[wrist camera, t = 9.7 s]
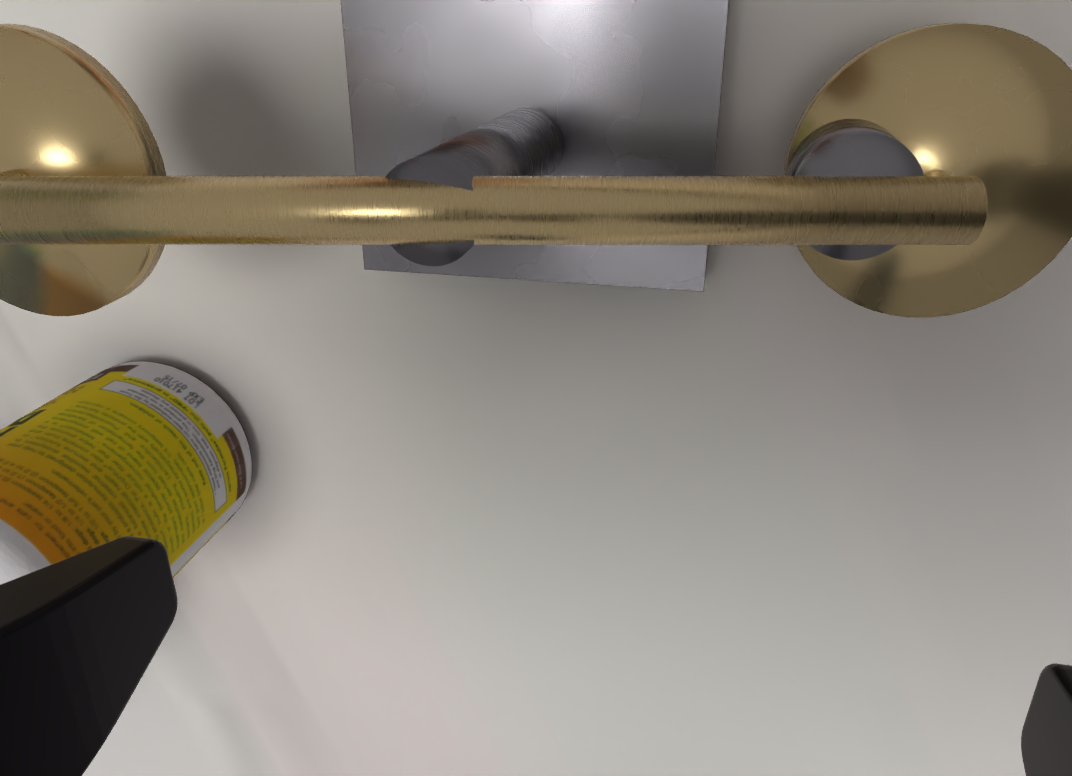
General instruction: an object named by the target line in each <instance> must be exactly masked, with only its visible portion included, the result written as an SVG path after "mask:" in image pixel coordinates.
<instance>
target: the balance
mask: <svg viewBox="0 0 1072 776" xmlns="http://www.w3.org/2000/svg"><path fill="white" fill-rule="evenodd" d="M728 5H729V0H341V11H342V22H343V33H344V44H345V55H346V67H347V78H348V89H349V100H350V112H351V123H352V134H353V145H354V157H355V168H356V176H166V172H165V168H164V163H163V160H162V157H161V154H160V151H159V148H158V146H157V143H156V140H155V138H154V136H153V134H152V132H151V130H150V128H149V125H148V123H147V122H146V120H145V118H144V117H143V115H142V113H141V112H140V110H139V108H138V107H137V105H136V103H135V102H134V101H133V99H132V98H131V97H130V95H129V94H128V93H127V91H126V90H125V89H124V87H123V86H122V85H121V84H120V83H119V82H118V81H117V80H116V78H115V77H114V76H113V75H112V74H111V73H110V72H109V71H108V70H107V69H106V68H105V67H104V66H102V65H101V64H100V63H99V62H98V61H97V60H96V59H95V58H93V57H92V56H91V55H89V54H88V53H86V52H85V51H84V50H82V49H81V48H79V47H78V46H76V45H75V44H73V43H71V42H69V41H67V40H65V39H64V38H62V37H60V36H58V35H55V34H53V33H50V32H48V31H45V30H42V29H39V28H34V27H30V26H26V25H17V24H0V299H1V300H3V301H5V302H7V303H9V304H12V305H14V306H16V307H19V308H21V309H24V310H28V311H31V312H35V313H38V314H45V315H51V316H72V315H79V314H84V313H87V312H91V311H94V310H97V309H99V308H101V307H103V306H105V305H107V304H109V303H111V302H113V301H115V300H117V299H119V298H121V297H123V296H125V295H127V294H129V293H131V292H132V291H133V290H134V289H136V288H137V287H138V286H140V285H141V284H142V283H143V282H144V280H145V279H146V278H147V277H148V276H149V275H150V274H151V272H152V270H153V269H154V267H155V266H156V264H157V263H158V260H159V258H160V256H161V254H162V251H163V249H164V245H165V244H282V245H362V247H363V258H364V269H366V270H382V271H397V272H412V273H428V274H443V275H458V276H474V277H489V278H504V279H520V280H535V281H551V282H566V283H581V284H597V285H612V286H627V287H643V288H658V289H673V290H689V291H703V290H704V282H705V272H706V260H707V249H708V245H797V247H798V248H799V250H800V252H801V254H802V256H803V257H804V259H805V261H806V262H807V263H808V265H809V266H810V267H811V268H812V270H813V271H814V272H815V274H816V275H817V276H818V277H819V278H820V279H821V280H822V281H823V282H825V283H826V284H827V285H828V286H829V287H830V288H832V289H833V290H834V291H836V292H837V293H838V294H840V295H841V296H843V297H845V298H847V299H848V300H850V301H852V302H854V303H856V304H858V305H860V306H863V307H866V308H868V309H871V310H873V311H877V312H881V313H885V314H889V315H896V316H904V317H936V316H945V315H951V314H955V313H960V312H965V311H968V310H971V309H974V308H977V307H980V306H983V305H986V304H988V303H990V302H992V301H995V300H997V299H999V298H1001V297H1003V296H1005V295H1007V294H1009V293H1010V292H1012V291H1014V290H1015V289H1017V288H1019V287H1020V286H1022V285H1023V284H1025V283H1026V282H1027V281H1029V280H1030V279H1031V278H1033V277H1034V276H1035V275H1037V274H1038V273H1039V272H1040V271H1041V270H1042V269H1043V268H1044V267H1045V266H1046V265H1048V264H1049V263H1050V262H1051V261H1052V260H1053V259H1054V258H1055V257H1056V255H1057V254H1058V253H1059V252H1060V251H1061V250H1062V248H1063V247H1064V246H1065V245H1066V244H1067V242H1068V241H1069V239H1070V238H1071V236H1072V70H1071V69H1070V68H1069V67H1068V66H1067V65H1066V64H1065V62H1064V61H1063V60H1062V59H1061V58H1059V57H1058V56H1057V55H1055V54H1054V53H1053V52H1052V51H1050V50H1049V49H1048V48H1047V47H1045V46H1043V45H1041V44H1040V43H1038V42H1036V41H1034V40H1033V39H1031V38H1029V37H1027V36H1024V35H1021V34H1019V33H1016V32H1013V31H1011V30H1007V29H1003V28H998V27H993V26H989V25H979V24H965V23H948V24H935V25H930V26H925V27H919V28H915V29H912V30H908V31H905V32H902V33H899V34H896V35H893V36H891V37H889V38H887V39H885V40H883V41H880V42H878V43H876V44H874V45H873V46H871V47H869V48H868V49H866V50H864V51H863V52H861V53H859V54H858V55H856V56H855V57H854V58H853V59H851V60H850V61H849V62H847V63H846V64H845V65H844V66H842V67H841V68H840V69H839V70H838V71H837V72H836V73H835V74H834V75H833V76H832V77H831V78H830V79H829V80H828V81H827V82H826V83H825V84H824V85H823V86H822V88H821V89H820V90H819V91H818V93H817V94H816V95H815V96H814V98H813V99H812V100H811V102H810V104H809V105H808V107H807V108H806V110H805V112H804V113H803V115H802V117H801V119H800V121H799V123H798V125H797V127H796V129H795V132H794V134H793V137H792V140H791V143H790V146H789V149H788V153H787V158H786V164H785V169H784V176H714V167H715V156H716V144H717V133H718V121H719V110H720V98H721V86H722V75H723V63H724V52H725V40H726V28H727V17H728Z"/></svg>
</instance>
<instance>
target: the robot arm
mask: <svg viewBox="0 0 1072 776" xmlns="http://www.w3.org/2000/svg"><path fill="white" fill-rule="evenodd" d="M176 610H177V594H176V590H175V585H174V581H173V577H172V572H171V568H170V563H169V559H168V554H167V551H166V548H165V547H164V545H163V544H162V543H161V542H160V541H158V540H155V539H149V538H142V537H134V536H124V537H120V538H118V539H115V540H113V541H110V542H107V543H105V544H102V545H100V546H97V547H95V548H92V549H90V550H87V551H85V552H82V553H80V554H77V555H74V556H72V557H69V558H67V559H64V560H62V561H59V562H57V563H54V564H52V565H49V566H47V567H44V568H41V569H39V570H36V571H34V572H31V573H29V574H26V575H24V576H21V577H19V578H16V579H14V580H11V581H8V582H6V583H3V584H1V585H0V776H82V775H83V773H84V772H85V770H86V769H87V768H88V766H89V765H90V763H91V762H92V760H93V759H94V757H95V756H96V754H97V753H98V751H99V750H100V748H101V747H102V745H103V744H104V742H105V740H106V739H107V737H108V735H109V734H110V732H111V730H112V729H113V727H114V725H115V724H116V722H117V720H118V718H119V717H120V715H121V713H122V711H123V710H124V708H125V706H126V704H127V702H128V701H129V699H130V697H131V695H132V694H133V692H134V690H135V688H136V686H137V685H138V683H139V681H140V679H141V678H142V676H143V674H144V672H145V670H146V669H147V667H148V665H149V663H150V662H151V660H152V658H153V656H154V655H155V653H156V651H157V649H158V647H159V646H160V644H161V642H162V640H163V639H164V637H165V635H166V633H167V631H168V630H169V628H170V626H171V624H172V622H173V620H174V617H175V614H176ZM1021 750H1022V758H1023V763H1024V768H1025V773H1026V776H1072V666H1070V665H1063V664H1051V665H1048V666H1046V667H1045V668H1044V669H1043V671H1042V672H1041V674H1040V677H1039V680H1038V683H1037V686H1036V689H1035V692H1034V695H1033V698H1032V701H1031V704H1030V707H1029V710H1028V713H1027V717H1026V720H1025V723H1024V726H1023V730H1022V736H1021Z"/></svg>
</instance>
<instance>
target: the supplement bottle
mask: <svg viewBox="0 0 1072 776" xmlns="http://www.w3.org/2000/svg"><path fill="white" fill-rule="evenodd" d="M251 473H252V462H251V454H250V449H249V445H248V442H247V439H246V436H245V433H244V431H243V429H242V427H241V425H240V423H239V421H238V419H237V418H236V416H235V415H234V413H233V412H232V411H231V409H230V408H229V407H228V405H227V404H226V403H225V402H224V401H223V400H222V399H221V398H220V397H219V396H218V395H217V394H216V393H215V392H214V391H213V390H212V389H211V388H209V387H208V386H207V385H205V384H204V383H203V382H201V381H200V380H198V379H197V378H195V377H193V376H192V375H190V374H188V373H186V372H184V371H181V370H179V369H176V368H174V367H171V366H168V365H164V364H159V363H154V362H128V363H123V364H119V365H116V366H113V367H110V368H108V369H106V370H104V371H102V372H100V373H98V374H97V375H95V376H93V377H91V378H89V379H87V380H86V381H84V382H82V383H80V384H78V385H77V386H75V387H73V388H72V389H70V390H68V391H66V392H65V393H63V394H61V395H60V396H58V397H56V398H55V399H53V400H51V401H50V402H48V403H46V404H44V405H43V406H41V407H39V408H38V409H36V410H34V411H32V412H31V413H29V414H27V415H25V416H24V417H22V418H20V419H18V420H17V421H15V422H13V423H12V424H10V425H8V426H7V427H5V428H3V429H2V430H0V585H1V584H3V583H6V582H8V581H11V580H14V579H16V578H19V577H21V576H24V575H26V574H29V573H31V572H34V571H36V570H39V569H41V568H44V567H47V566H49V565H52V564H54V563H57V562H59V561H62V560H64V559H67V558H69V557H72V556H74V555H77V554H80V553H82V552H85V551H87V550H90V549H92V548H95V547H97V546H100V545H102V544H105V543H107V542H110V541H113V540H115V539H118V538H120V537H124V536H134V537H142V538H149V539H155V540H158V541H160V542H161V543H162V544H163V545H164V547H165V548H166V551H167V554H168V559H169V563H170V568H171V572H172V577H174V576H175V575H176V574H177V573H178V572H179V571H180V570H181V569H182V568H183V567H184V566H185V565H186V564H187V563H188V562H189V561H190V560H191V559H192V558H193V557H194V555H195V554H196V553H197V552H198V551H199V550H200V549H201V548H202V547H203V546H204V545H205V544H206V543H207V542H208V541H209V540H210V539H211V538H212V537H213V536H214V535H215V534H216V533H217V532H218V531H219V530H220V529H221V528H222V527H223V526H224V525H225V524H226V523H227V522H228V521H229V520H230V518H231V517H232V516H233V515H234V514H235V513H236V511H237V510H238V509H239V508H240V506H241V505H242V503H243V501H244V499H245V497H246V495H247V492H248V489H249V486H250V481H251Z"/></svg>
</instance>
